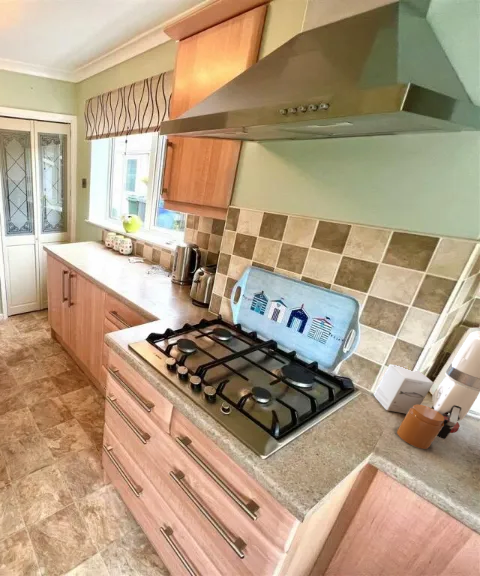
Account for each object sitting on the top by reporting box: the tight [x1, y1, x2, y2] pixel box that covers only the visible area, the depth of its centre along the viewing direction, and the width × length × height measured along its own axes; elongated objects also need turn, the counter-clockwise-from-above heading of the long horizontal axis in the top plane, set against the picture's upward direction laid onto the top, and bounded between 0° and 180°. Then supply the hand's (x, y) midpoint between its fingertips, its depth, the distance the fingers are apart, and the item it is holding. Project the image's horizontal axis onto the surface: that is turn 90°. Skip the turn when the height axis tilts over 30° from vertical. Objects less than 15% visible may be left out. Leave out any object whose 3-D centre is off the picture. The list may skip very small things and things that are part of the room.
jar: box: [396, 404, 445, 450], centre depth 82 cm, size 7×7×10 cm
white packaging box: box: [373, 363, 434, 415], centre depth 94 cm, size 7×7×13 cm
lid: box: [444, 413, 461, 434], centre depth 85 cm, size 7×7×2 cm
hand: (435, 427), depth 86 cm, fingers closed on lid, 7 cm apart
